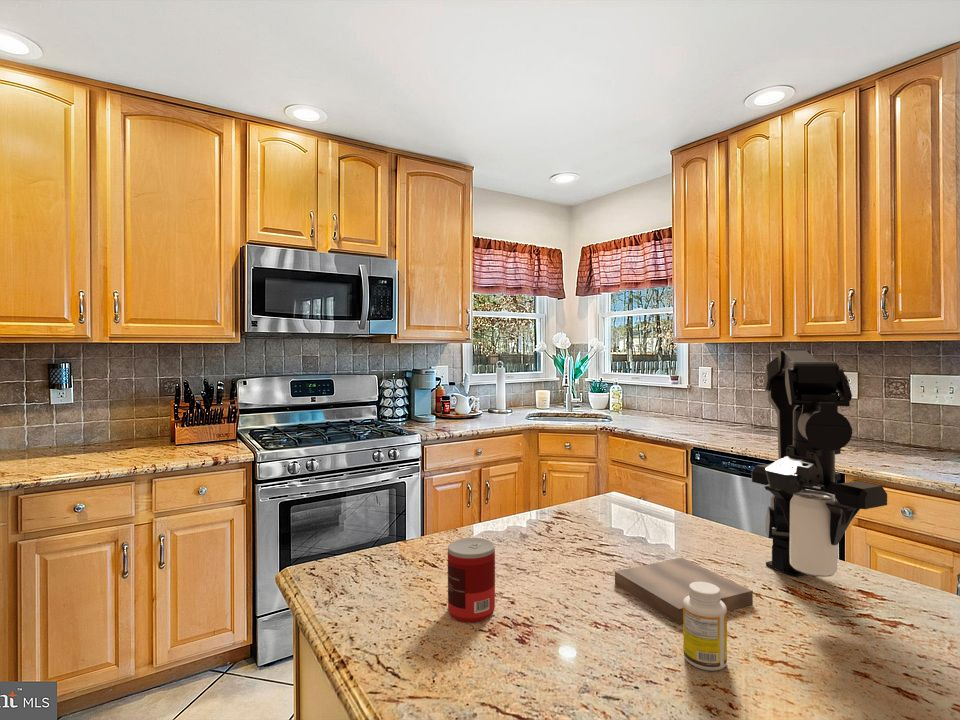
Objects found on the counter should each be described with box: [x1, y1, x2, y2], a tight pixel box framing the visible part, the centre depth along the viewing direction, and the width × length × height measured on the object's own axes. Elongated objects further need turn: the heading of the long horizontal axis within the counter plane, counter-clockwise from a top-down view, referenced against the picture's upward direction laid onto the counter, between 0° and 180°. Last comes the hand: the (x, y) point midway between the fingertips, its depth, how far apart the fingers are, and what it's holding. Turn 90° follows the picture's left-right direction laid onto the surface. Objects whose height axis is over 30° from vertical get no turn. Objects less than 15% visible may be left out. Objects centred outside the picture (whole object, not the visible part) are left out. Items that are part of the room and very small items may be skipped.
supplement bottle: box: [682, 582, 728, 672], centre depth 74 cm, size 6×6×10 cm
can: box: [790, 489, 838, 578], centre depth 86 cm, size 6×6×12 cm
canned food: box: [447, 537, 496, 624], centre depth 89 cm, size 8×8×11 cm
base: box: [614, 557, 754, 626], centre depth 95 cm, size 16×16×2 cm
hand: (813, 537), depth 86 cm, fingers closed on can, 6 cm apart
